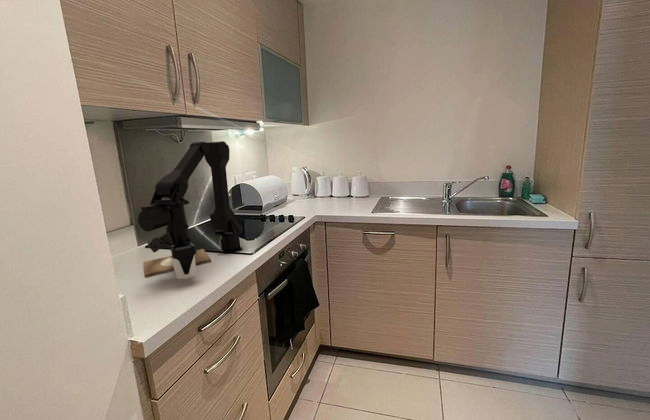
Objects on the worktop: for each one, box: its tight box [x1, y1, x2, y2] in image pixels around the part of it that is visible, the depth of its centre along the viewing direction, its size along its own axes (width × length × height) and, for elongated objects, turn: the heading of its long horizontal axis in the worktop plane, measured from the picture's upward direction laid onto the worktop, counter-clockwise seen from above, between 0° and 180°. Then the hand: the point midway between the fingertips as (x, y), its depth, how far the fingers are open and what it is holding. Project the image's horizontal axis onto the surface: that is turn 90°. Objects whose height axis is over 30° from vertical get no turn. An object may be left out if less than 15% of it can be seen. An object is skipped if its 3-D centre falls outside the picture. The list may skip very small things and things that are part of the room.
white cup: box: [170, 254, 197, 280], centre depth 100 cm, size 7×7×7 cm
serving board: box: [142, 248, 212, 279], centre depth 112 cm, size 20×14×1 cm
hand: (185, 270), depth 100 cm, fingers closed on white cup, 6 cm apart
